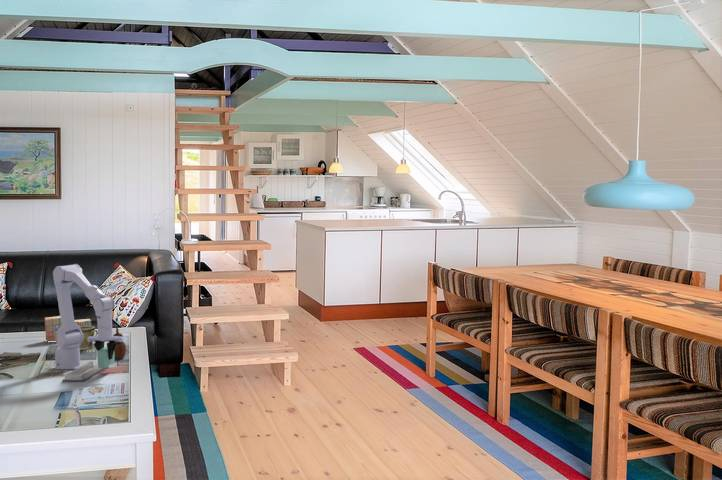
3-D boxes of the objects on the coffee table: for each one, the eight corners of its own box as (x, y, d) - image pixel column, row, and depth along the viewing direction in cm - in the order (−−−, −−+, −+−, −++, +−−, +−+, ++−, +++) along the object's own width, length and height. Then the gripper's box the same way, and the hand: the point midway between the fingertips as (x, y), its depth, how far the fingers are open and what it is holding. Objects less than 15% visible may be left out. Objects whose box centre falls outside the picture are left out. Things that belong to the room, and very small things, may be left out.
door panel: (98, 367, 295) (97, 350, 294) (107, 362, 304) (107, 345, 303) (105, 367, 294) (104, 351, 294) (114, 362, 303) (114, 345, 303)
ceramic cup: (69, 350, 345) (67, 329, 344) (84, 345, 354) (83, 325, 353) (90, 351, 340) (89, 330, 339) (105, 347, 349) (104, 326, 348)
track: (62, 381, 289) (62, 375, 288) (88, 367, 310) (87, 361, 310) (84, 381, 288) (83, 375, 287) (108, 367, 310) (108, 361, 309)
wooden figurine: (120, 360, 322) (119, 327, 321) (108, 360, 323) (107, 326, 322) (128, 356, 328) (127, 324, 327) (116, 356, 330) (115, 323, 328)
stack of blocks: (90, 336, 376) (89, 312, 375) (92, 338, 371) (91, 314, 370) (45, 341, 366) (44, 317, 365) (47, 343, 361) (45, 319, 360)
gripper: (83, 328, 294) (84, 361, 295) (117, 328, 293) (119, 361, 294) (91, 324, 301) (92, 357, 302) (125, 324, 300) (126, 357, 301)
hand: (106, 358), depth 299 cm, fingers closed on door panel, 3 cm apart
